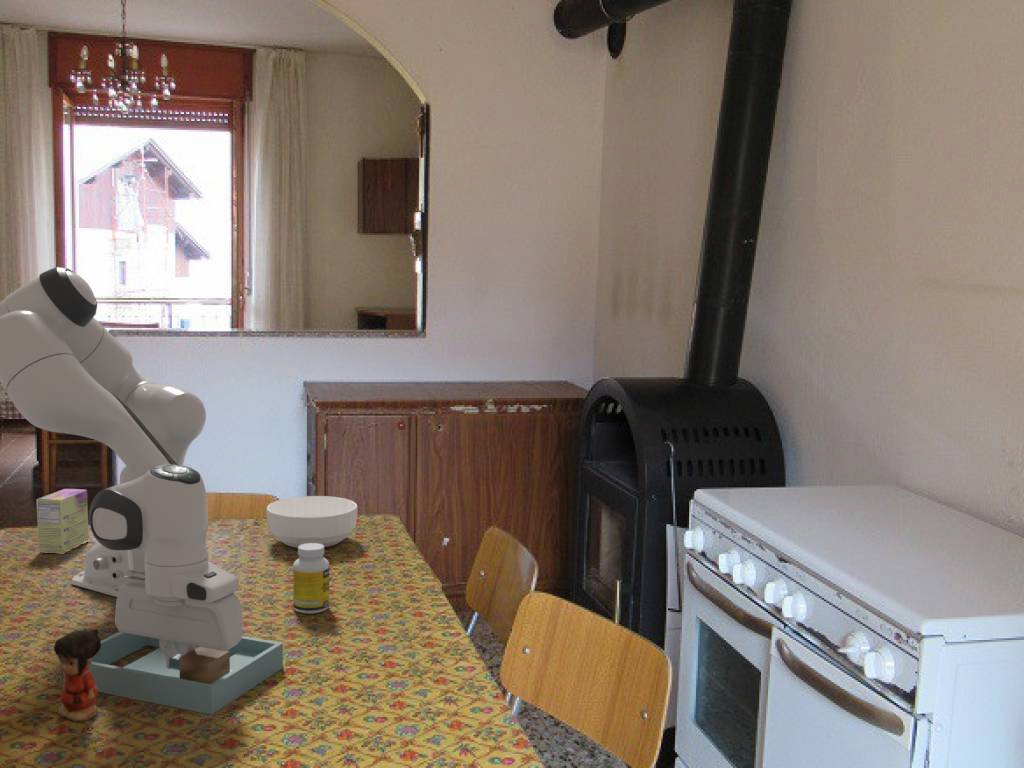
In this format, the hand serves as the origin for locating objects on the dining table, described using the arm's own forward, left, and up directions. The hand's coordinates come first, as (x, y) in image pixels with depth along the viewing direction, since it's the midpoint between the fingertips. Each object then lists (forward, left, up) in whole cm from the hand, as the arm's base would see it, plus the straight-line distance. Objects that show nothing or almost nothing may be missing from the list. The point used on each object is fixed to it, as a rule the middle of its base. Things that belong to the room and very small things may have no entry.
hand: (178, 668), depth 152 cm
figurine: (-8, -12, -3) cm, 14 cm away
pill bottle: (0, +38, -3) cm, 38 cm away
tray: (-3, +4, -3) cm, 6 cm away
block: (+5, 0, -1) cm, 5 cm away
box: (-68, +50, -3) cm, 85 cm away
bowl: (-22, +75, -4) cm, 78 cm away
